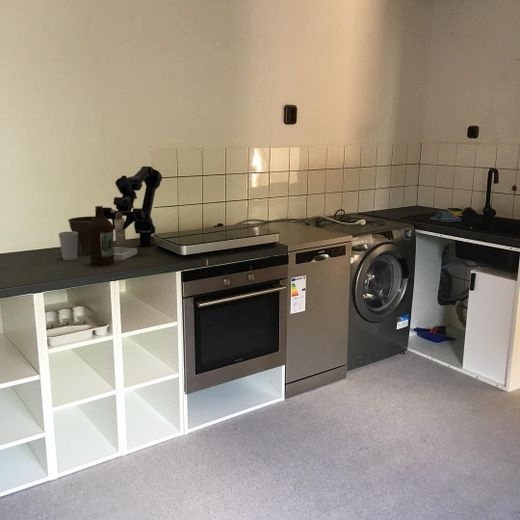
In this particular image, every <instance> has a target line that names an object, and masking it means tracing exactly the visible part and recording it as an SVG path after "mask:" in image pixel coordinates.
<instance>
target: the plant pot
mask: <svg viewBox="0 0 520 520" xmlns="http://www.w3.org/2000/svg"><path fill="white" fill-rule="evenodd" d="M94 217H95V215H93V216H91V215H89V216H88V215H87V216H79V217H78V216H77V217H72V218H69V219H67V221H68V222H69V228H70V230H71V231H72V232H78V244H77V255H90V248H89V239H88V231H87V229H88V225H89V223H90V222H91V220H92V219H93V218H94Z"/></svg>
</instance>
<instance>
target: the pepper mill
mask: <svg viewBox="0 0 520 520" xmlns="http://www.w3.org/2000/svg"><path fill="white" fill-rule="evenodd" d="M115 216H116V219H114V223H115V229H114V236H115V238H114V239H115V244H116V245H125V244H126V243H127V242H126V241H127V239H126V237H127V236H126V229H125V230H123V226H124V223H125V220H126V219H125V218H124V216H123V214H122V213H121V212H117V213H116V214H115Z"/></svg>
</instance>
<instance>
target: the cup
mask: <svg viewBox="0 0 520 520" xmlns="http://www.w3.org/2000/svg"><path fill="white" fill-rule="evenodd" d="M58 237H59V243H60V251H61V256H62V257H61V258H62V260H63V261H64V260H65V261H73V260H77V259H78V254H77V244H78V232H72V230H71V231H61V232H58Z"/></svg>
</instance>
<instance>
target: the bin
mask: <svg viewBox="0 0 520 520" xmlns="http://www.w3.org/2000/svg"><path fill="white" fill-rule="evenodd" d="M116 252H121V253H122V254H115V253H116ZM137 254H138V248H134V247H117V246H114V261H124V260H127V259H128V258H131V257H134V256H135V255H137Z"/></svg>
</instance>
